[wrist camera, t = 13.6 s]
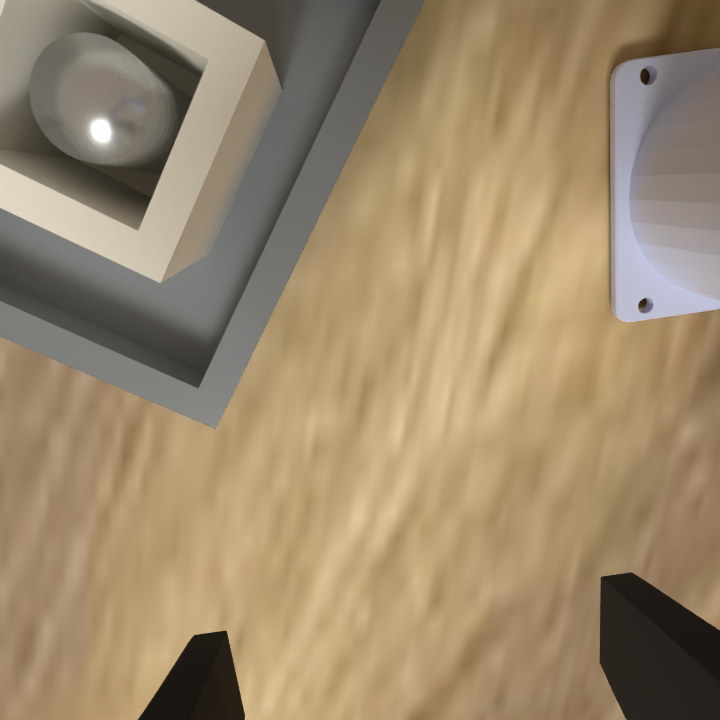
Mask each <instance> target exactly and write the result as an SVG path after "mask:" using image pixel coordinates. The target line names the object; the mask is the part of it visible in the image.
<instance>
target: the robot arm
mask: <svg viewBox="0 0 720 720" xmlns="http://www.w3.org/2000/svg"><path fill="white" fill-rule="evenodd" d="M643 68H645V69H647V70H648V71H649V74H650V79H649V82H648V83H647V84H646V85H645V84H643V83H642V82H641V80H640V73H641V71H642V69H643ZM610 177H611V309H612V313H613V315H614V316H615V317H616V318H618V319H620V320H622V321H624V322H634V321H641V320H647V319H654V318H661V317H668V316H675V315H681V314H688V313H695V312H702V311H708V310H715V309H720V48H712V49H705V50H697V51H690V52H682V53H675V54H667V55H660V56H652V57H645V58H637V59H631V60H628V61H625V62H623V63H620V64H619V65H618V66H617V67H616V68H615V69H614V70H613V72H612V74H611V79H610ZM644 298H646V300H647V304H646V307H645V308H644V309H643V310H641V311H639V309H638V304H639V302H640V301H641V300H642V299H644ZM600 664H601V666H602V668H603V671H604V673H605V675H606V677H607V680H608V682H609V684H610V686H611V688H612V691H613V693H614V695H615V697H616V699H617V701H618V703H619V705H620V707H621V709H622V711H623V714H624V716H625V718H626V719H627V720H720V630H718V629H717V628H715V627H714V626H712V625H711V624H709V623H707V622H706V621H704V620H703V619H701V618H700V617H698V616H697V615H695V614H694V613H692V612H691V611H689V610H688V609H686V608H685V607H683V606H682V605H680V604H679V603H677V602H676V601H674V600H673V599H671V598H670V597H669V596H667V595H666V594H664V593H663V592H661V591H660V590H658V589H657V588H655V587H654V586H652V585H651V584H649V583H648V582H646V581H644V580H643V579H641V578H640V577H638V576H637V575H635V574H633V573H632V572H631V573H624V574H617V575H610V576H603V577H601V603H600ZM138 720H245V714H244V709H243V705H242V700H241V695H240V691H239V686H238V681H237V677H236V672H235V667H234V663H233V658H232V653H231V649H230V644H229V640H228V635H227V631H220V632H213V633H206V634H199V635H194V636H193V637H192V638H191V640H190V641H189V642H188V644H187V646H186V647H185V649H184V650H183V652H182V653H181V655H180V657H179V658H178V660H177V661H176V663H175V664H174V666H173V668H172V669H171V671H170V672H169V674H168V675H167V677H166V679H165V680H164V682H163V683H162V685H161V686H160V688H159V689H158V691H157V692H156V694H155V695H154V697H153V698H152V700H151V701H150V703H149V704H148V706H147V707H146V709H145V710H144V712H143V713H142V714H141V716H140V717H139V719H138Z"/></svg>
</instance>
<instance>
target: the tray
mask: <svg viewBox="0 0 720 720" xmlns="http://www.w3.org/2000/svg"><path fill="white" fill-rule="evenodd" d="M196 1H197V2H199V3H201V4H202V5H204V6H206V7H208V8H209V9H211V10H213V11H215V12H216V13H218V14H220V15H222V16H223V17H225V18H227V19H229V20H230V21H232V22H234V23H235V24H237V25H239V26H241V27H242V28H244V29H246V30H248V31H249V32H251V33H253V34H255V35H256V36H258V37H260V38H262V39H263V40H265V42H266V45H267V48H268V51H269V54H270V56H271V59H272V62H273V65H274V68H275V71H276V74H277V77H278V80H279V83H280V85H281V88H282V93H281V95H280V97H279V99H278V102H277V104H276V106H275V108H274V111H273V113H272V115H271V117H270V120H269V122H268V124H267V126H266V129H265V131H264V133H263V135H262V138H261V140H260V142H259V144H258V146H257V149H256V151H255V153H254V155H253V158H252V160H251V162H250V164H249V167H248V169H247V171H246V173H245V176H244V178H243V180H242V182H241V185H240V187H239V189H238V191H237V194H236V196H235V198H234V200H233V203H232V205H231V207H230V209H229V212H228V214H227V216H226V218H225V220H224V223H223V225H222V227H221V229H220V232H219V234H218V236H217V238H216V241H215V243H214V245H213V247H212V250H211V252H210V253H209V254H207V255H206V256H204V257H203V258H201V259H199V260H198V261H196V262H194V263H193V264H191V265H189V266H188V267H186V268H185V269H183V270H181V271H180V272H178V273H176V274H175V275H173V276H172V277H170V278H168V279H167V280H165V281H163V282H162V283H159V282H157V281H154V280H152V279H150V278H148V277H146V276H144V275H142V274H140V273H137V272H135V271H133V270H131V269H129V268H127V267H125V266H123V265H120V264H118V263H116V262H114V261H112V260H110V259H108V258H106V257H103V256H101V255H99V254H97V253H95V252H93V251H91V250H89V249H86V248H84V247H82V246H80V245H78V244H76V243H74V242H72V241H69V240H67V239H65V238H63V237H61V236H59V235H57V234H55V233H52V232H50V231H48V230H46V229H44V228H42V227H40V226H38V225H35V224H33V223H31V222H29V221H27V220H25V219H23V218H21V217H18V216H16V215H14V214H12V213H10V212H8V211H6V210H4V209H1V208H0V337H3V338H5V339H7V340H10V341H12V342H14V343H17V344H19V345H21V346H24V347H26V348H28V349H31V350H33V351H35V352H38V353H40V354H42V355H45V356H47V357H49V358H52V359H54V360H56V361H59V362H61V363H63V364H65V365H68V366H70V367H72V368H75V369H77V370H79V371H82V372H84V373H86V374H89V375H91V376H93V377H96V378H98V379H100V380H103V381H105V382H107V383H110V384H112V385H114V386H117V387H119V388H121V389H124V390H126V391H128V392H130V393H133V394H135V395H137V396H140V397H142V398H144V399H147V400H149V401H151V402H154V403H156V404H158V405H161V406H163V407H165V408H168V409H170V410H172V411H175V412H177V413H179V414H182V415H184V416H186V417H189V418H191V419H193V420H195V421H198V422H200V423H202V424H205V425H207V426H209V427H212V428H214V429H216V427H217V425H218V423H219V421H220V419H221V417H222V415H223V413H224V411H225V409H226V407H227V405H228V403H229V401H230V399H231V397H232V395H233V393H234V390H235V388H236V386H237V384H238V382H239V380H240V378H241V376H242V374H243V372H244V370H245V368H246V366H247V364H248V362H249V360H250V358H251V356H252V353H253V351H254V349H255V347H256V345H257V343H258V341H259V339H260V337H261V335H262V333H263V331H264V329H265V327H266V325H267V323H268V321H269V319H270V317H271V314H272V312H273V310H274V308H275V306H276V304H277V302H278V300H279V298H280V296H281V294H282V292H283V290H284V288H285V286H286V284H287V282H288V280H289V277H290V275H291V273H292V271H293V269H294V267H295V265H296V263H297V261H298V259H299V257H300V255H301V253H302V251H303V249H304V247H305V245H306V243H307V241H308V238H309V236H310V234H311V232H312V230H313V228H314V226H315V224H316V222H317V220H318V218H319V216H320V214H321V212H322V210H323V208H324V206H325V204H326V201H327V199H328V197H329V195H330V193H331V191H332V189H333V187H334V185H335V183H336V181H337V179H338V177H339V175H340V173H341V171H342V169H343V167H344V165H345V162H346V160H347V158H348V156H349V154H350V152H351V150H352V148H353V146H354V144H355V142H356V140H357V138H358V136H359V134H360V132H361V130H362V128H363V125H364V123H365V121H366V119H367V117H368V115H369V113H370V111H371V109H372V107H373V105H374V103H375V101H376V99H377V97H378V95H379V93H380V91H381V89H382V86H383V84H384V82H385V80H386V78H387V76H388V74H389V72H390V70H391V68H392V66H393V64H394V62H395V60H396V58H397V56H398V54H399V52H400V50H401V47H402V45H403V43H404V41H405V39H406V37H407V35H408V33H409V31H410V29H411V27H412V25H413V23H414V21H415V19H416V17H417V15H418V13H419V10H420V8H421V6H422V4H423V2H424V0H196Z"/></svg>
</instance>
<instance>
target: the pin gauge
mask: <svg viewBox="0 0 720 720" xmlns="http://www.w3.org/2000/svg"><path fill="white" fill-rule="evenodd" d="M29 96H30V103H31V108H32V111H33V114H34V117H35V119H36V121H37V123H38V125H39V127H40V128H41V130H42V132H43V133H44V134H45V136H46V137H47V138H48V139H49V140H50V141H51V142H52V143H53V144H54V145H55V146H56V147H57V148H58V149H60V150H61V151H63V152H64V153H66V154H67V155H69V156H71V157H73V158H76V159H79V160H82V161H86V162H91V163H96V164H102V165H108V166H113V167H119V168H125V169H131V170H136V171H142V172H148V173H153V174H159V175H161V174H162V172H163V170H164V167H165V165H166V162H167V160H168V157H169V155H170V153H171V150H172V148H173V145H174V143H175V140H176V138H177V136H178V133H179V131H180V128H181V126H182V123H183V121H184V119H185V116H186V114H187V111H188V109H189V106H190V104H191V102H192V99H191V98H190V97H189V96H188V95H187V94H186V93H184V92H183V91H182V90H180V89H179V88H178V87H176V86H175V85H174V84H172V83H171V82H170V81H168V80H167V79H166V78H164V77H163V76H162V75H160V74H159V73H158V72H156V71H155V70H154V69H152V68H151V67H150V66H148V65H147V64H146V63H144V62H143V61H142V60H140V59H139V58H138V57H136V56H135V55H134V54H132V53H131V52H130V51H128V50H127V49H126V48H124V47H123V46H122V45H120V44H119V43H117V42H116V41H114V40H112V39H110V38H108V37H105V36H102V35H99V34H94V33H86V32H83V33H73V34H68V35H65V36H63V37H60V38H58V39H57V40H55V41H53V42H52V43H51V44H49V45H48V46H47V47H46V48H45V49H44V50H43V51H42V53H41V54H40V55H39V57H38V58H37V60H36V62H35V64H34V66H33V69H32V72H31V77H30V84H29Z"/></svg>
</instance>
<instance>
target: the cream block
mask: <svg viewBox="0 0 720 720" xmlns="http://www.w3.org/2000/svg"><path fill="white" fill-rule="evenodd" d="M83 32H86V33H94V34H99V35H102V36H105V37H108V38H110V39H112V40H114V41H116V42H117V43H119V44H120V45H122V46H123V47H124V48H126V49H127V50H128V51H130V52H131V53H132V54H134V55H135V56H136V57H138V58H139V59H140V60H142V61H143V62H144V63H146V64H147V65H148V66H150V67H151V68H152V69H154V70H155V71H156V72H158V73H159V74H160V75H162V76H163V77H164V78H166V79H167V80H168V81H170V82H171V83H172V84H174V85H175V86H176V87H178V88H179V89H180V90H182V91H183V92H184V93H186V94H187V95H188V96H189V97H190V98H191V99H192V102H191V104H190V106H189V109H188V111H187V114H186V116H185V119H184V121H183V123H182V126H181V128H180V131H179V133H178V136H177V138H176V140H175V143H174V145H173V148H172V150H171V153H170V155H169V157H168V160H167V162H166V165H165V167H164V170H163V172H162V174H161V175H159V174H153V173H148V172H142V171H136V170H131V169H125V168H119V167H113V166H108V165H102V164H96V163H91V162H86V161H82V160H79V159H76V158H73V157H71V156H69V155H67V154H66V153H64V152H63V151H61V150H60V149H58V148H57V147H56V146H55V145H54V144H53V143H52V142H51V141H50V140H49V139H48V138H47V137H46V136H45V134H44V133H43V132H42V130H41V128H40V127H39V125H38V123H37V121H36V119H35V117H34V114H33V111H32V108H31V103H30V96H29V84H30V77H31V72H32V69H33V66H34V64H35V62H36V60H37V58H38V57H39V55H40V54H41V53H42V51H43V50H44V49H45V48H46V47H47V46H48V45H49V44H51V43H52V42H53V41H55V40H57V39H58V38H60V37H63V36H65V35H68V34H73V33H83ZM281 93H282V88H281V85H280V83H279V80H278V77H277V74H276V71H275V68H274V65H273V62H272V59H271V56H270V54H269V51H268V48H267V45H266V42H265V40H263V39H262V38H260V37H258V36H256V35H255V34H253V33H251V32H249V31H248V30H246V29H244V28H242V27H241V26H239V25H237V24H235V23H234V22H232V21H230V20H229V19H227V18H225V17H223V16H222V15H220V14H218V13H216V12H215V11H213V10H211V9H209V8H208V7H206V6H204V5H202V4H201V3H199V2H197V1H196V0H0V208H1V209H4V210H6V211H8V212H10V213H12V214H14V215H16V216H18V217H21V218H23V219H25V220H27V221H29V222H31V223H33V224H35V225H38V226H40V227H42V228H44V229H46V230H48V231H50V232H52V233H55V234H57V235H59V236H61V237H63V238H65V239H67V240H69V241H72V242H74V243H76V244H78V245H80V246H82V247H84V248H86V249H89V250H91V251H93V252H95V253H97V254H99V255H101V256H103V257H106V258H108V259H110V260H112V261H114V262H116V263H118V264H120V265H123V266H125V267H127V268H129V269H131V270H133V271H135V272H137V273H140V274H142V275H144V276H146V277H148V278H150V279H152V280H154V281H157V282H159V283H162V282H163V281H165V280H167V279H168V278H170V277H172V276H173V275H175V274H176V273H178V272H180V271H181V270H183V269H185V268H186V267H188V266H189V265H191V264H193V263H194V262H196V261H198V260H199V259H201V258H203V257H204V256H206V255H207V254H209V253H210V252H211V250H212V247H213V245H214V243H215V241H216V238H217V236H218V234H219V232H220V229H221V227H222V225H223V223H224V220H225V218H226V216H227V214H228V212H229V209H230V207H231V205H232V203H233V200H234V198H235V196H236V194H237V191H238V189H239V187H240V185H241V182H242V180H243V178H244V176H245V173H246V171H247V169H248V167H249V164H250V162H251V160H252V158H253V155H254V153H255V151H256V149H257V146H258V144H259V142H260V140H261V138H262V135H263V133H264V131H265V129H266V126H267V124H268V122H269V120H270V117H271V115H272V113H273V111H274V108H275V106H276V104H277V102H278V99H279V97H280V95H281Z"/></svg>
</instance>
